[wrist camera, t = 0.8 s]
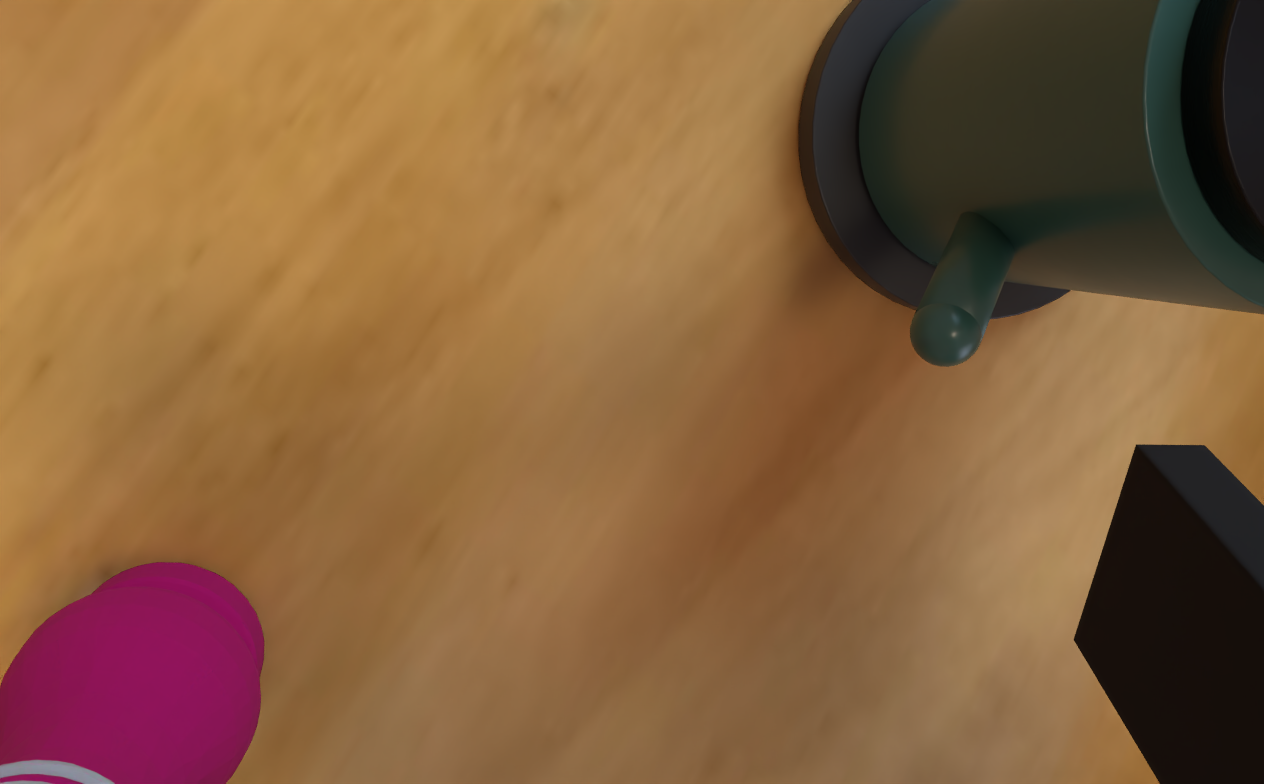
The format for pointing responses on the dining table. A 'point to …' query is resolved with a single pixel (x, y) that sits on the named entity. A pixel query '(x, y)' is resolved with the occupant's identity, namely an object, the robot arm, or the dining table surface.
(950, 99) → the kettle
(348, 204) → the dining table surface
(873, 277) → the kettle base
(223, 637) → the pepper mill
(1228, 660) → the robot arm
